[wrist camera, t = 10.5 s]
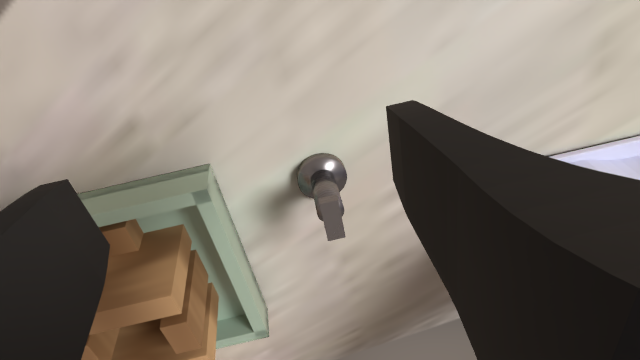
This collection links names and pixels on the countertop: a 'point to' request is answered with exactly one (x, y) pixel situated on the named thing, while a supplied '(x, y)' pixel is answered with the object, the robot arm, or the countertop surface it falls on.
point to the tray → (193, 239)
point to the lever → (325, 190)
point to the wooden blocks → (153, 298)
